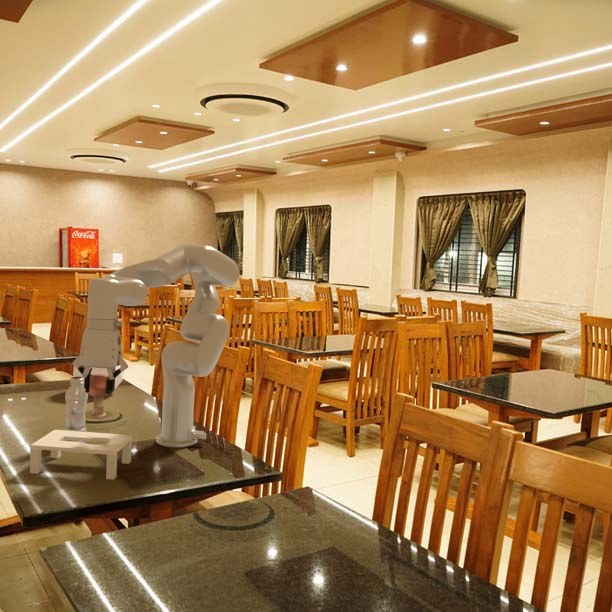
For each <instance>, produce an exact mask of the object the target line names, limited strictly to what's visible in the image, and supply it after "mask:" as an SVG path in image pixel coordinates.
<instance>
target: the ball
mask: <svg viewBox="0 0 612 612" xmlns="http://www.w3.org/2000/svg"><path fill="white" fill-rule="evenodd" d="M84 367H85V366H84ZM120 367H121V366H120V365H119V366H116V367H115V369H116V370H117V369H119V368H120ZM124 372H125V370H124V371H123V372H121V373H120V374H119V375H118V376H117V377H116V378H115V389H114V391H115V390H116V388H117V387H118V386H119V385H120V384H121V383H122V382H123V380H124V374H125V373H124ZM94 374H105V375H108V371H107V368H95V367H93V370H92V373H91V375H94ZM75 376H80V377H83V375H82V374H81V373H80V372H79V370H78V369H77V368H76V367H75V366H73V373H72V377H75ZM83 386H84V384H83ZM88 394H89V392H88Z"/></svg>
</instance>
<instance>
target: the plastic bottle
mask: <svg viewBox="0 0 612 612" xmlns="http://www.w3.org/2000/svg"><path fill="white" fill-rule="evenodd" d="M83 384H84V377H80V376H75V377H74V376H71V377H70V381H69V385H70V386H69V388H68V389H67V390H66V392H65V394H64V396H65V397H64V398H65V406H66V407H65V408H66V410H65V411H66V415H65V426H64V429H63V430H66V431H80V432H87V426H86V425H87V424H86V411H87V404H88V400H89V399H88V398H89V393H85V389H84V386H83ZM64 441H72V442H84V443H85V441H73V440H64Z"/></svg>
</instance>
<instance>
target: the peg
mask: <svg viewBox="0 0 612 612" xmlns="http://www.w3.org/2000/svg"><path fill="white" fill-rule="evenodd" d="M108 379H109V376H108V375H105V374H94V375H90V386H89V393H88V396H89V397H93V406H92V407H93V409H92V410H93V411H92V412H90V413H89V416H90V418H91V419H98V420H101V419H104V418H107V413H106V412H105V411H104V409H105V407H104V406H105V404H104V402H105V397H107V396H110V394H106V389H107V380H108Z"/></svg>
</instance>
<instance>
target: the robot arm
mask: <svg viewBox="0 0 612 612" xmlns="http://www.w3.org/2000/svg"><path fill="white" fill-rule="evenodd" d="M189 274H190V276H191V279H192V283H193V288H194V296H193V299H192V301H191V304H190V305H189V308H188V310H187V312H186V314H185V315H184V317H183V319H182V322H181V325H180V328H179V329H180V330H179V333H180V335H181V337H182V338H183V339H184V340H187V341H183V340H182V341H181V340H178V341H177V340H176V341H175V340H174V341H172V342H169V343H167V344H166V345H165V346H164V347H163V349H162V352H161V366H162V375H163V393H162V413H161V415H162V417H161V433H160V434H159V435H157V436H156V438H155V443H157V444H158V445H159V446H162V447H166V448H187V447H190V446H193V445H196V443H197V442H198V439H200V440H206V438H207V433H206V432H204V430H197V429H196V425H194V410H195V409H194V408H195V394H196V393H195V392H196V391H195V385H196V384H195V380H194V378H193V377H201V378H202V377H207V376H209V375H210V374H211V373H212V372H213V371H214V370H215V367H216V366H217V364H218V361H219V359H220V356H221V354H222V352H223V350H224V348H225V346H226V343H227V341H228V339H229V335H230V326H229V325H230V324H229V322H228V319H226V318H225V317H224V316H222V315H220V314H217V312H218V310H219V307H220V296H219V294H218V291H217V288H216V286H218V287H227V288H228V287H232V286H234V285H236V283H237V282H238V281H239V279H240V268H239V266H238V264H237V262H235V260H234V259H232V258H230V257H229V256H227V255H226V254H224V253H222V252H221V251H220V250H217V249H216V248H214V247H212V246H210V245H205V244H194V243H193V244H191V243H189V244H188V243H187V244H181V245H179V246H177V247H175V248H174V249H171V250H170V251H167V252H165V253H164V254H162V255H160V256H158V257H155V258H152V259H150V260H145V261H142V262H139V263H136V264H131V265H129V266H125V267H122V268H121V267H120V268H119V269H118V270H115V271H113V272H111V273H109V274H107V275H106V276H104V277H103V278H102V277H94V278H92V279H89V281H88V292H87V314H86V315H87V316H86V317H87V318H86V328H84V330H83V332H82V333H83V334H82V337H81V338H82V339H81V343H80V350H79V355H78V356H77V357H76V358H75V359H74V360H73V362H72V366H73V367H74V366H75V367H76V368H77V369H78V370H79V372H80V373H81V374H82V375H83V377H84V389H85V393H88V392H89V386H90V375H91V373H92V370H93V367H95V368H107V371H108V376H109V379H108V380H107V389H106V394H109V395H110V394H112V393H113V392H114V391H115V390H116V389H115V378H116V377H117V376H118V375H119V374H120V373H121V372H123V371H124V372H125V371H126V370H127V369H129V365H128V363H127V362H126V361H125V359H124V358H123V346H122V345H123V344H122V334H121V330H120V329H119V328H122V327H123V322H122V321H119V318H118V307H119V306H120V305H121V306H122V305H123V306H129V307H134V306H135V307H136V306H138V305H140V304H143V303H144V302H145V301H146V299H147V296H148V289H149V288H150V289H151V288H160V287H166V286H168V285H171V284H172V283H175V282H176V281H178V280H179V279H181V278H182V277H185V276H186V275H189ZM118 329H119V330H118ZM188 341H190V342H188ZM192 342H194V343H192ZM198 343H199V344H198ZM119 365H120V366H121V367H120V368H119V369H117V370H116V369H115V367H116V366H119ZM84 366H85V367H84ZM114 389H115V390H114ZM88 394H89V393H88Z"/></svg>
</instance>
